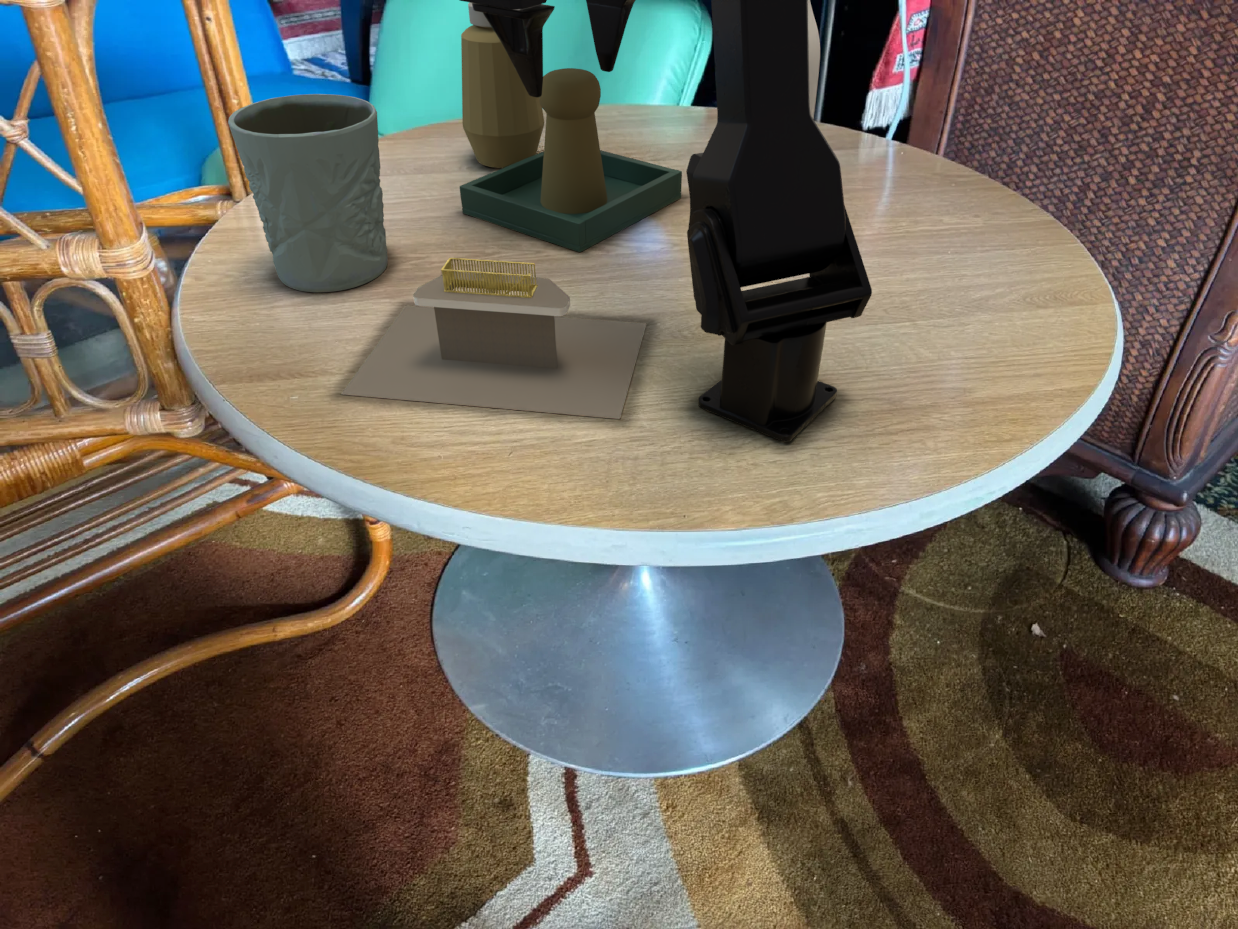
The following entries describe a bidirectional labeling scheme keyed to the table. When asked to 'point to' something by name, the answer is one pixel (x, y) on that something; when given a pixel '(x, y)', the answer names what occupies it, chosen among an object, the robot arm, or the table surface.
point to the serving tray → (518, 207)
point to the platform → (501, 348)
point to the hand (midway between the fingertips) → (572, 83)
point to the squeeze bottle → (496, 99)
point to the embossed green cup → (316, 187)
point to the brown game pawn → (571, 143)
